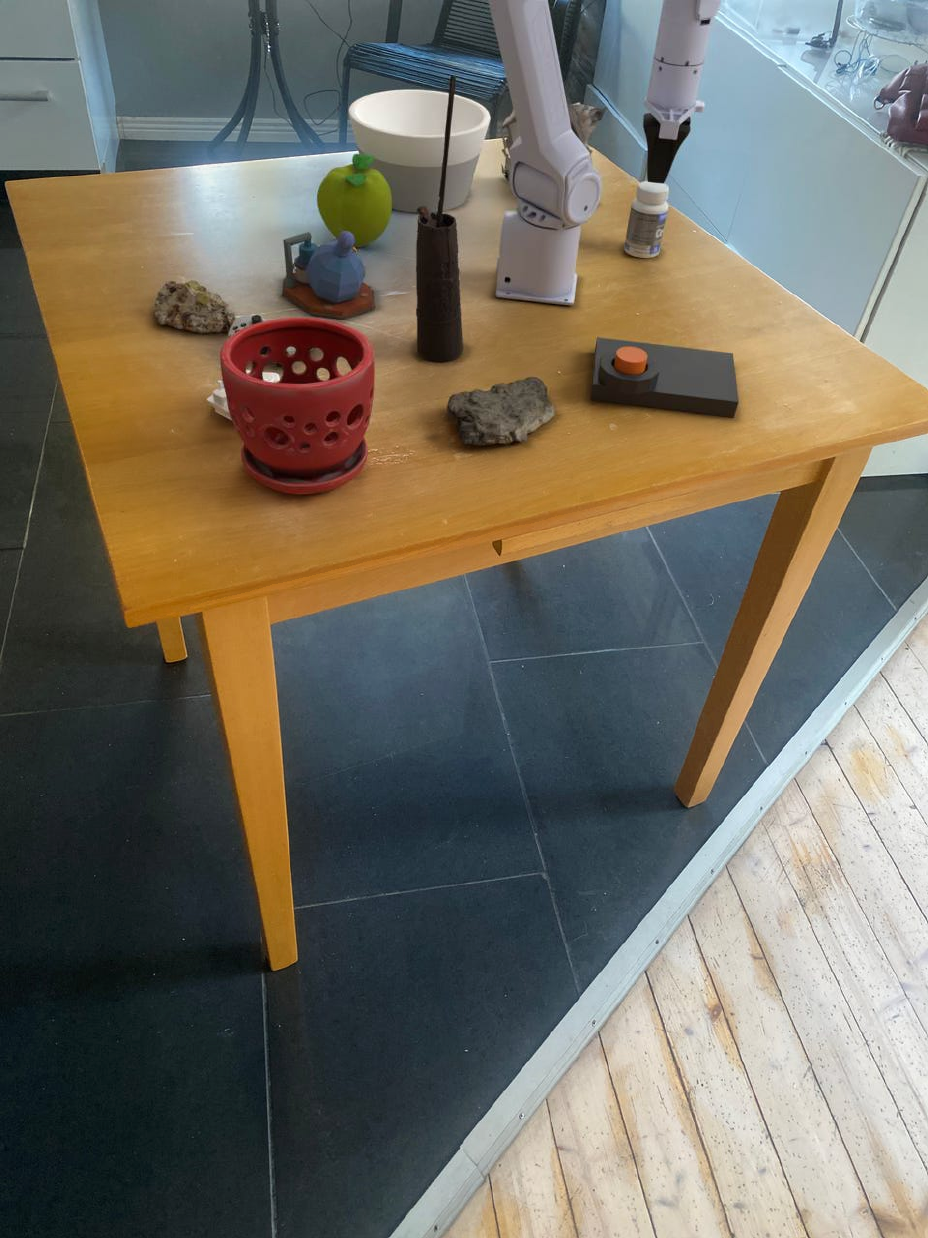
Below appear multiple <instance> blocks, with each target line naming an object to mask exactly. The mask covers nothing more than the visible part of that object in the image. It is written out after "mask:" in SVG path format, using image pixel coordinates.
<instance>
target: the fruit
mask: <svg viewBox="0 0 928 1238" xmlns="http://www.w3.org/2000/svg"><path fill="white" fill-rule="evenodd" d="M374 158H375V156H373V155H364V154H359V153H354V154H352V159H351V163H350V164H347V165H344V166H336V167H333V168H331V170H329V171H328V172H327V174H326V175H325V177H324V178H323V179H322V180H321V182H320V184H319V186H318V189H317V193H316V205H317V209H318V213H319V215H320V218H321V220H322V221H323V222H322V223H324V225H325V227H326V229H327V230H328V231H329V233H330V235H332V236H333V237H334V238H335V240H336V241H337V240H338V236H339V235H340V234H341V233H342V232H344V231H348V232H350V233H352V234H353V236H354V240H355V243H354V245H353V246H354V247H355V248H361V247H365V246H367V245H368V244H371V243H373V242H374V241H376V240H377V239H378V238H380V237H381V236H382V234H384V232H385V231H386V229H387V228H388V225H389V223H390V221H391V216H392V210H393V209H392V196H391V191H390V188H389V185H388V183H387V181H386V180H385V178H384V177H383V176H382V174H381V173H380V172H378V171H377V170H375V169H370V168H367V167H368V166H369V165H370V164H371V163H372V161H373V160H374Z"/></svg>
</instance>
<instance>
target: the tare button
mask: <svg viewBox="0 0 928 1238" xmlns="http://www.w3.org/2000/svg"><path fill="white" fill-rule="evenodd" d="M646 361H647V354H646V352H644V351H643V350H641V349H639V348H636V347H622V348H620V349H618V350H617V352H616V357H615V362H614V368H615V369H616V370H617V371H620V372H622V373H624V374H632V375H636V374H642V373H643V372H644V370H645V366H646Z"/></svg>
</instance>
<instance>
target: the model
mask: <svg viewBox="0 0 928 1238" xmlns="http://www.w3.org/2000/svg"><path fill="white" fill-rule="evenodd" d="M312 238H313V236H312V233H311V232H310V231H308V232H304V233H301V234H297V235H293V236H290V237H287V238H285V239H283V240H282V241H283V242H282V243H283V251H284V264H285V277H284V278H283V283H282V289H281V296H282V297H283V298H284V299H287V300H288V301H289V302H291V303H292V304H294V306H296V307H298V308H299V309H301V310H302V311H304V312H305V313H307V314H308V315H309V316H313V317H320V318H327V319H335V320H343V321H344V320H347V319H350V318H353V317H356V316H359V315H362V314H364V313H367V312H369V311H371V310H374V309H376V307H377V305H376V300H375V291H374V289H372V286H370V285H369V284H367V283H366V282H364V280H365V277H366V266H365V265H364V263H363V261H362V260H361V258H360V257H359V255H358V253H359V251H358V250H357V247H355V246H353V245H354V243H355V240H354V236H353V234H352V233H350V232H348V231H344V232H342V233H341V234H340V235H339V236H338V240H337V239H336V240H333V241H330V242H325V243H322V244H319V245H318V244H316V243H314V242H312ZM295 245H298V256H297V257H295V258H294V260H293V250H292V247H293V246H295Z"/></svg>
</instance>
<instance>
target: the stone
mask: <svg viewBox="0 0 928 1238" xmlns="http://www.w3.org/2000/svg"><path fill="white" fill-rule="evenodd" d="M446 413H447V414H446V415H447V418H448V419H449V421H451V422H452V424H454V426H455V427H456V428H457V429H458V430H459V438H460V441H461V444H463V445H465V444H466V445H475V446H490V445H495V444H503V445H505V446H507V445H509V444H510V443H512V442H520V443H525V442H526V441H528V434H530V433H532V432H536V430H537V429H539V428H540V427H542V425H545V424H547V423H548V422H549V421H550V420H552V418H553V417H555V406H554V404H552V402H550V400H549V395H548V387H547V385H546V384H545V382H544V381H543V380H542V379H540V378H539V377H537V376H528V377H525V378H524V379H518V380H515V381H511V382H508V383H502V382H501V383H495V384H494V385H492V386H491V388H490V389H488V390H485V391H484V390H482V389H480V388H475V389H474V390H471V391H467V390H466V391H465V390H464V391H461V392H457V393H453V394H451V395H450V397H449V398H448V401H447V403H446Z"/></svg>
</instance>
